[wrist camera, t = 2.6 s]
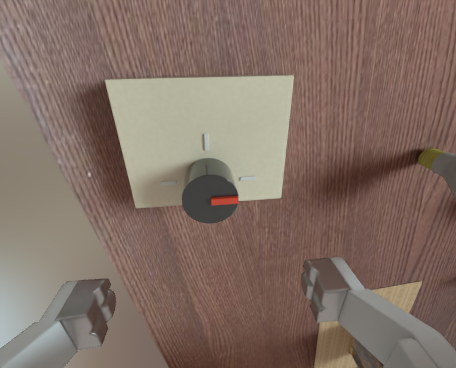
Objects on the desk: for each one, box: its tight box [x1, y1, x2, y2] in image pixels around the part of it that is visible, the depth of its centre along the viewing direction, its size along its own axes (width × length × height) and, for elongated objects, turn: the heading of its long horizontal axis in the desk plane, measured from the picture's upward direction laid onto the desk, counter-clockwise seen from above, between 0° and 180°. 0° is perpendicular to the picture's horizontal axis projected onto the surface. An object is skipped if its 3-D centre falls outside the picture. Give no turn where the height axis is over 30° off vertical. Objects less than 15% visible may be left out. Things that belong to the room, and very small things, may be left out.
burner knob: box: [182, 158, 239, 223], centre depth 19 cm, size 4×4×4 cm
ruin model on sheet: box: [314, 281, 422, 368], centre depth 37 cm, size 25×16×10 cm, turn 6°
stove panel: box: [105, 74, 294, 208], centre depth 21 cm, size 14×13×3 cm
